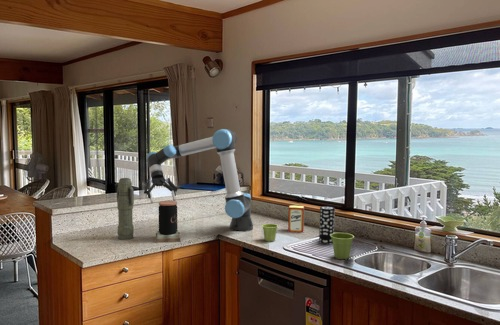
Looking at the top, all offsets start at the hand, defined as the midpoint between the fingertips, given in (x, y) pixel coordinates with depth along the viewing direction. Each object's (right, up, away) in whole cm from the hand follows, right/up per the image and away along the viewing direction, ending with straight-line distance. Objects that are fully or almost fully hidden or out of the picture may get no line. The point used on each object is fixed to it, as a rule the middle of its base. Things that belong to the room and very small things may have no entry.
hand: (163, 201), depth 243 cm
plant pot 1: (+63, -22, -5) cm, 67 cm away
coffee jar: (+4, -18, -5) cm, 19 cm away
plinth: (+3, -21, -4) cm, 22 cm away
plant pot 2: (+98, -25, -35) cm, 107 cm away
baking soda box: (+81, -21, +18) cm, 85 cm away
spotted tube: (+95, -23, -8) cm, 98 cm away
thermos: (-21, -21, -3) cm, 30 cm away
